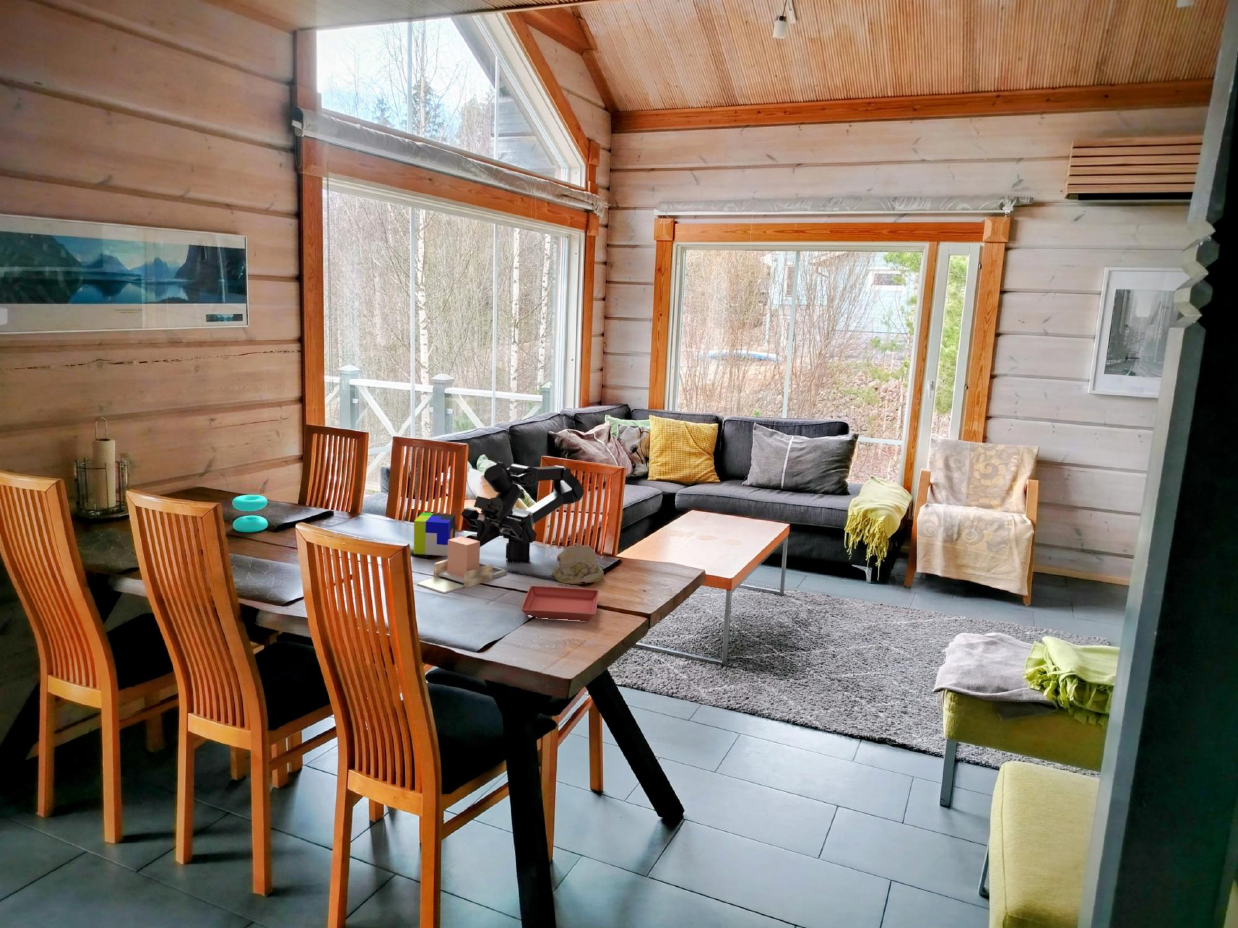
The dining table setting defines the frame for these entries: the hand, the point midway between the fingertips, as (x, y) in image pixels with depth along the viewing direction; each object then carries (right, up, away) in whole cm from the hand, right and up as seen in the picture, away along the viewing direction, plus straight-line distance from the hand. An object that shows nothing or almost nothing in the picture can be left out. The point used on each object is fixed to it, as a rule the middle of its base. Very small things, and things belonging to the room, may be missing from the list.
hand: (476, 547), depth 239 cm
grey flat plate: (+2, -7, +4) cm, 8 cm away
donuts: (-75, +3, +32) cm, 82 cm away
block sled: (-3, -7, -3) cm, 8 cm away
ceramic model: (+27, -9, +4) cm, 29 cm away
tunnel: (-3, -8, -2) cm, 9 cm away
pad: (-8, -9, -9) cm, 15 cm away
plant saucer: (+25, -14, -21) cm, 35 cm away
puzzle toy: (-16, -3, +21) cm, 27 cm away
